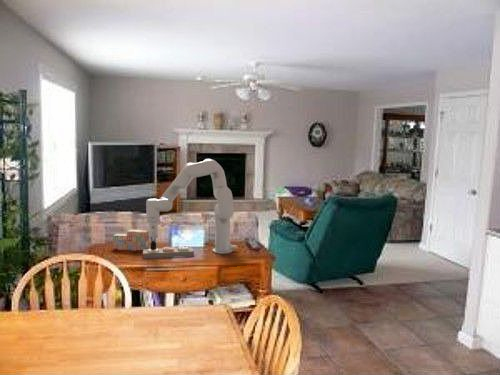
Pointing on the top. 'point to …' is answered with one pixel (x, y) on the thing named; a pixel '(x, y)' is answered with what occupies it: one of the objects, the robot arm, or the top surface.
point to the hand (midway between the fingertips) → (153, 249)
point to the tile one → (152, 250)
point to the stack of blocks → (131, 240)
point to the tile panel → (167, 253)
